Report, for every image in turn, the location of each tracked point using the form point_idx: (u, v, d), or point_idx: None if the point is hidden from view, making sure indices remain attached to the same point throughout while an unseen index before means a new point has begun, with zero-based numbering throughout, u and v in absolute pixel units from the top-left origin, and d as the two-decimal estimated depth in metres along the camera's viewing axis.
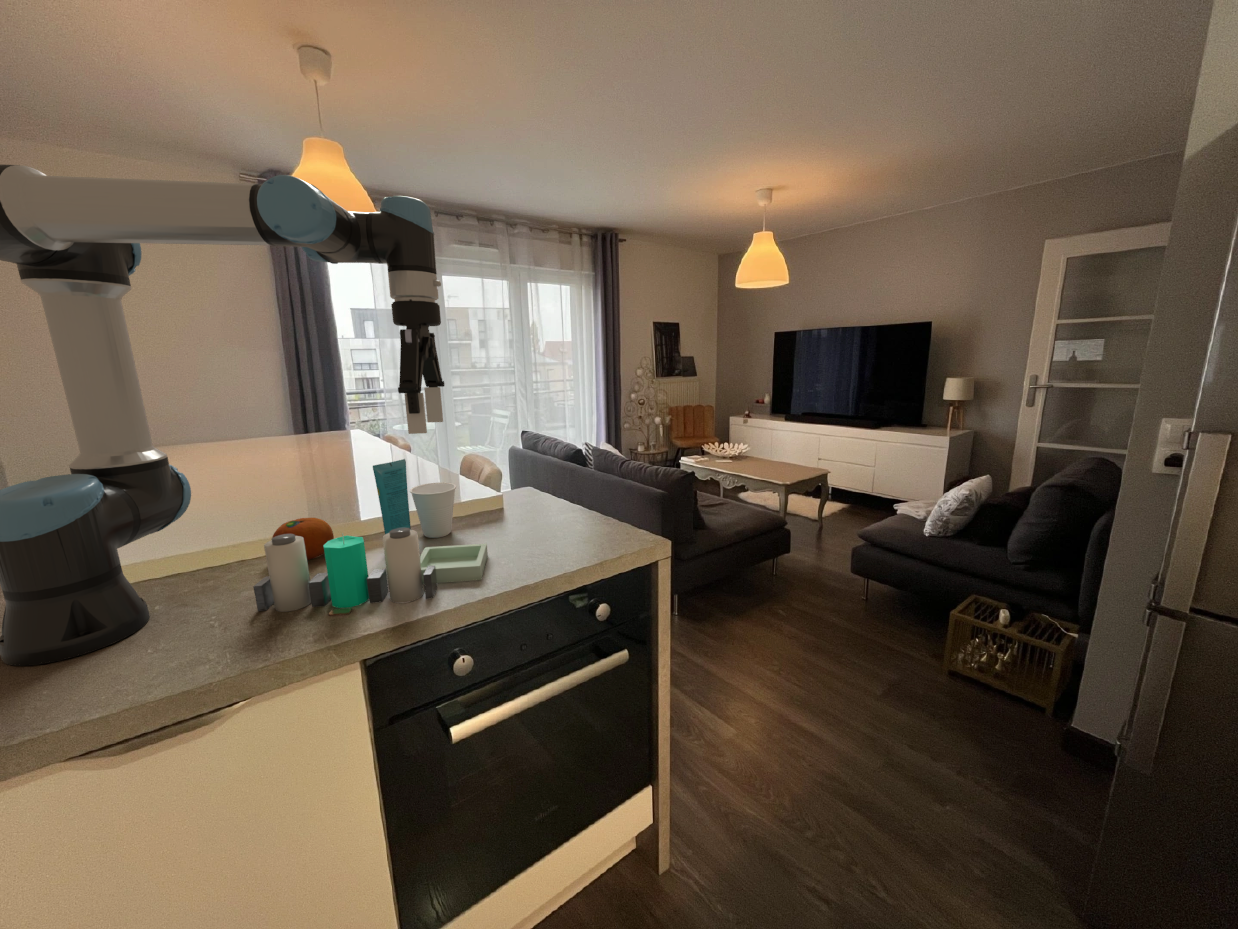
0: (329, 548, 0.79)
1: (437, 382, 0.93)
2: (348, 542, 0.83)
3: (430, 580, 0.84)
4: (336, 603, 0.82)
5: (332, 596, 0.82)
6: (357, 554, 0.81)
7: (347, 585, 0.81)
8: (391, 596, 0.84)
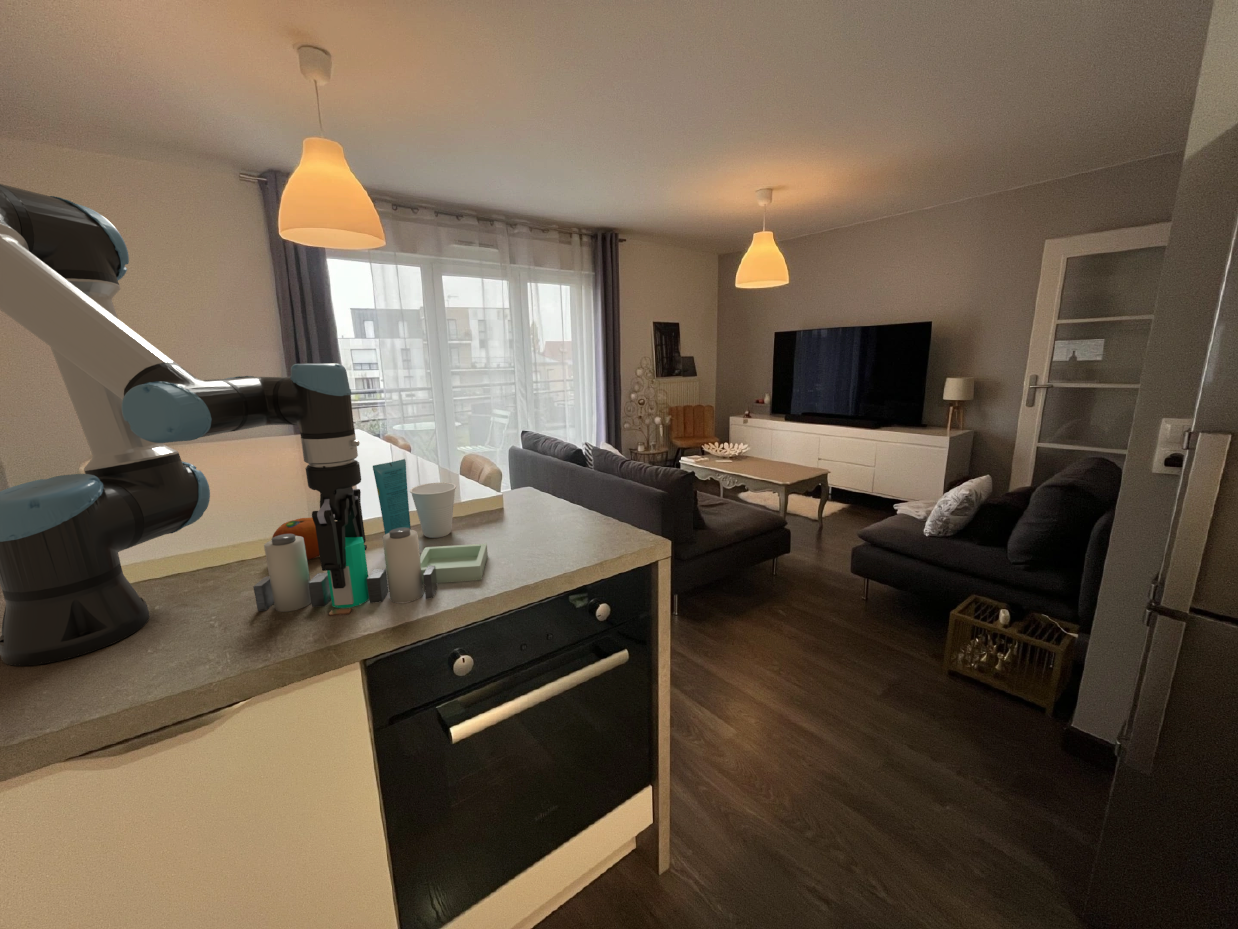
0: None
1: None
2: (348, 542, 0.83)
3: (430, 580, 0.84)
4: None
5: (332, 596, 0.82)
6: (356, 554, 0.81)
7: None
8: (391, 596, 0.84)
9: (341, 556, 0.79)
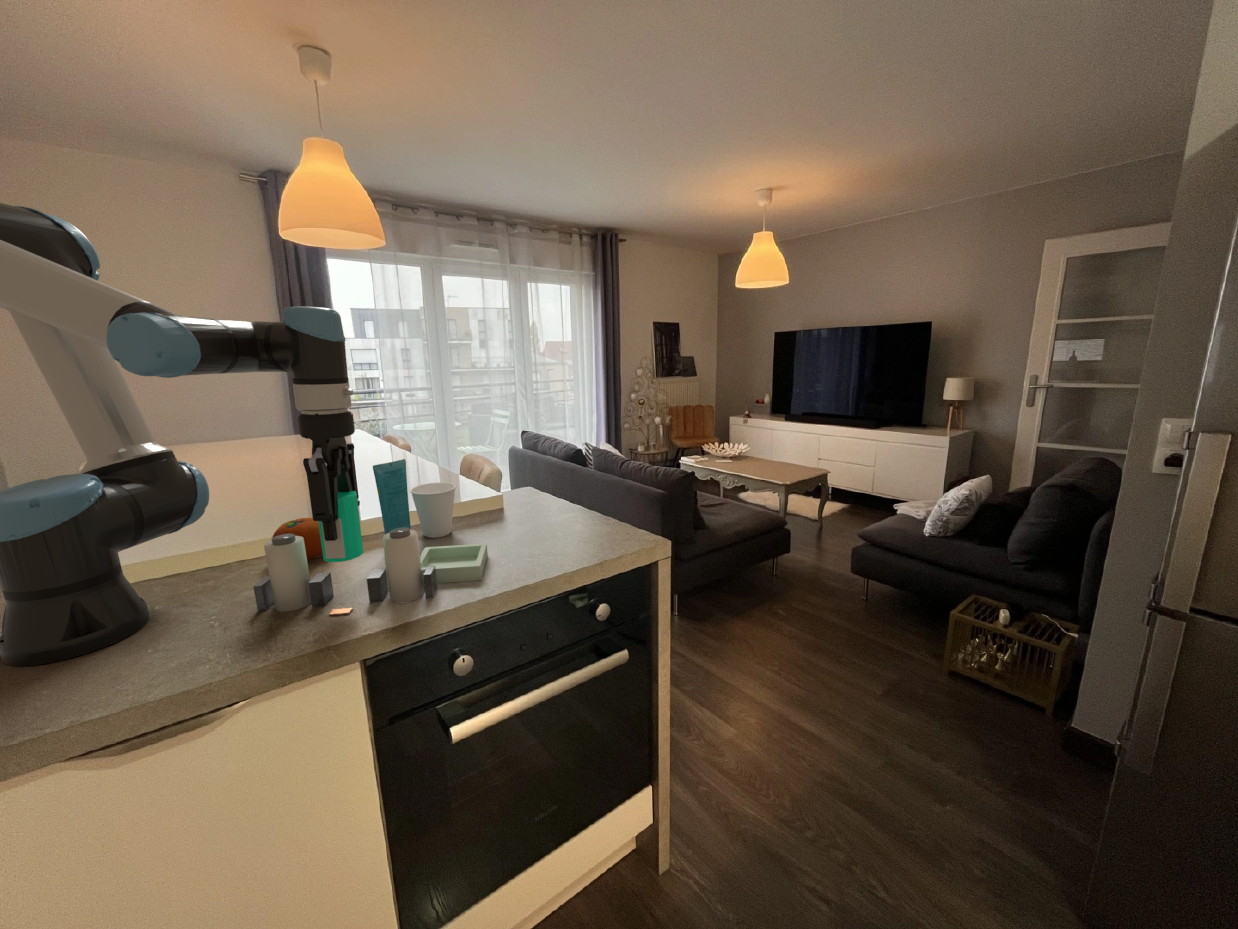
0: None
1: None
2: (340, 496, 0.81)
3: (430, 580, 0.84)
4: None
5: (323, 550, 0.80)
6: (349, 507, 0.80)
7: None
8: (391, 596, 0.84)
9: (333, 507, 0.77)
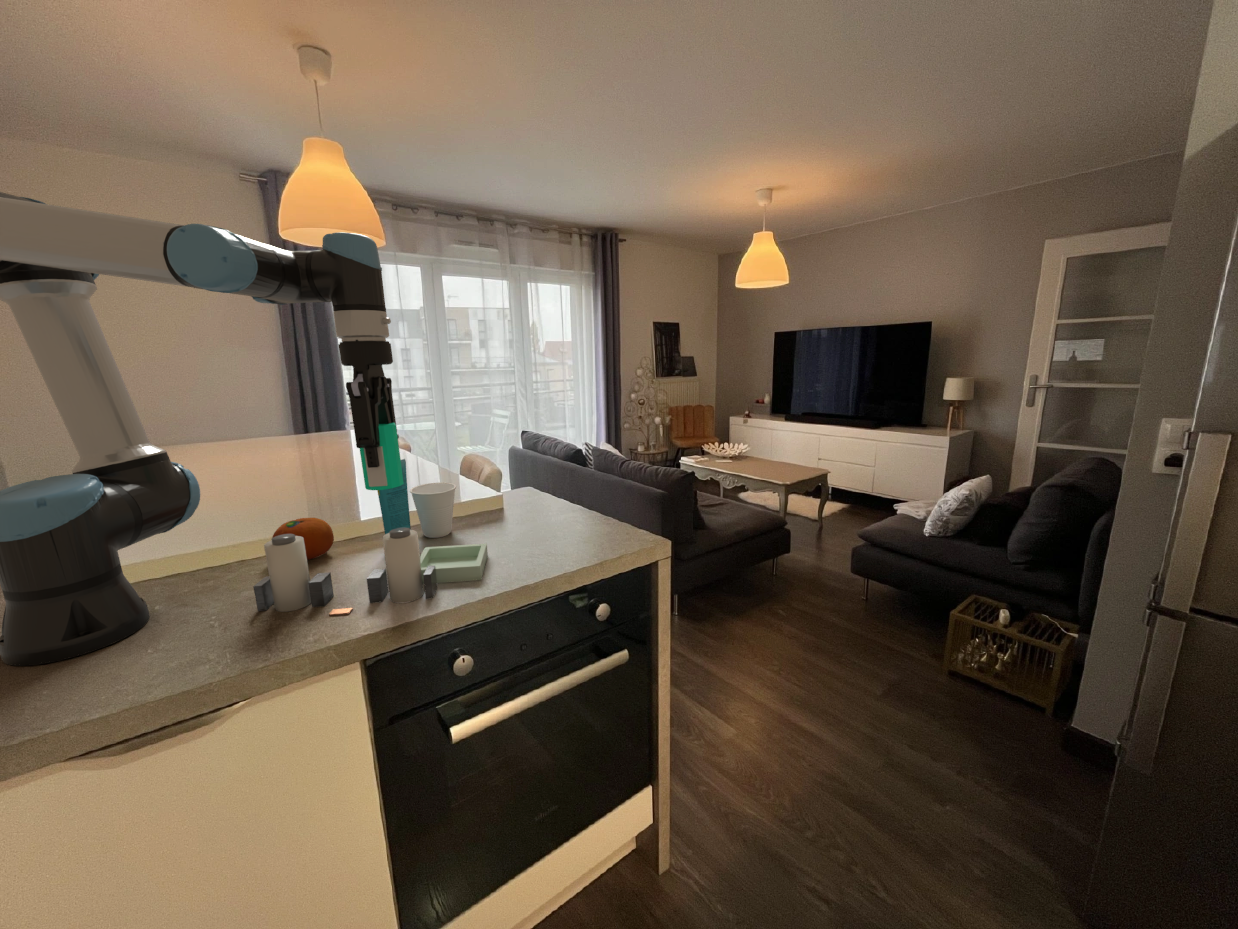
0: None
1: None
2: None
3: (430, 580, 0.84)
4: None
5: (366, 478, 0.82)
6: (389, 435, 0.81)
7: None
8: (391, 596, 0.84)
9: (375, 434, 0.79)
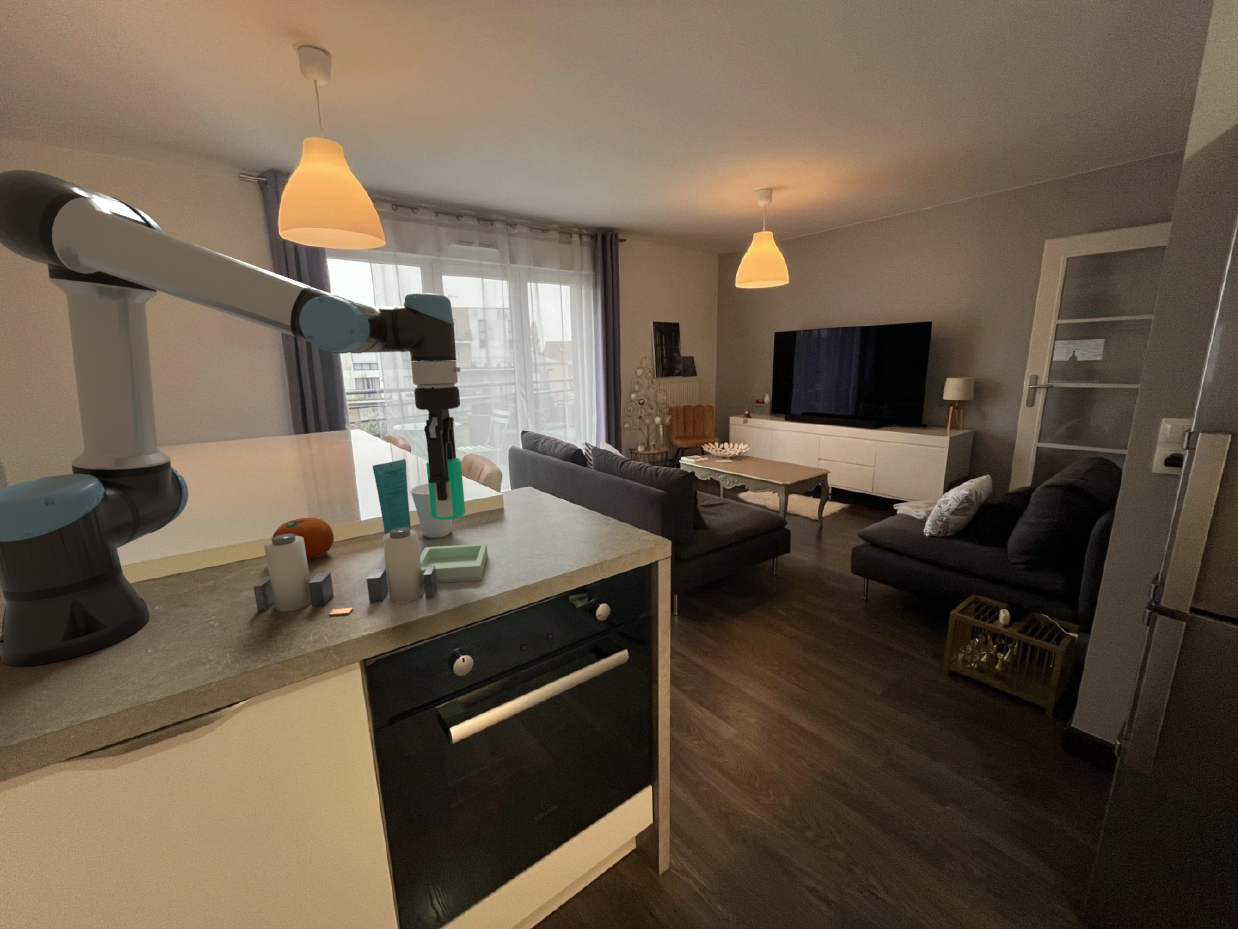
0: None
1: None
2: None
3: (430, 580, 0.84)
4: None
5: (434, 509, 0.91)
6: (456, 471, 0.90)
7: None
8: (391, 596, 0.84)
9: (445, 470, 0.88)
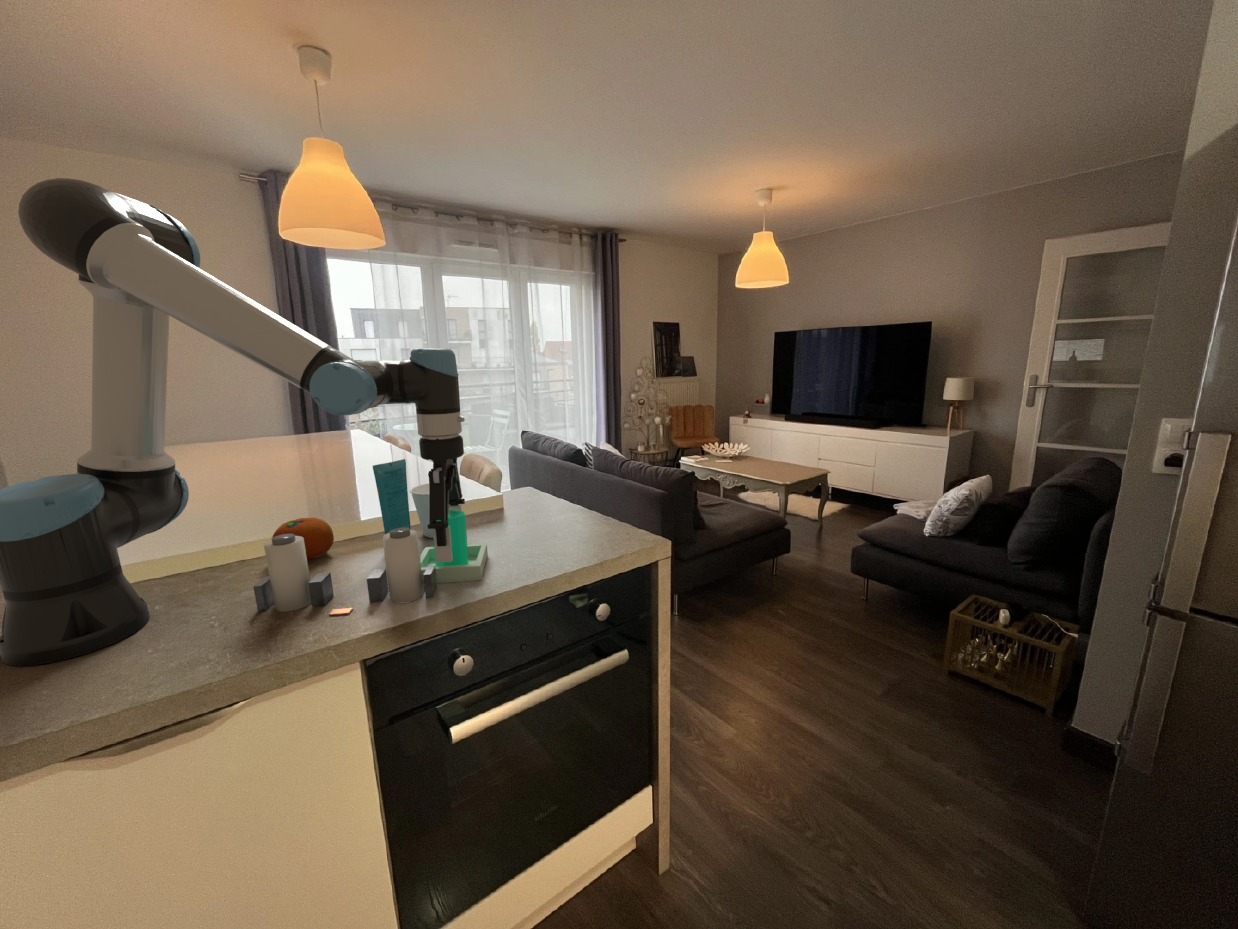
0: None
1: (458, 501, 0.99)
2: (451, 515, 0.94)
3: (430, 580, 0.84)
4: None
5: (438, 562, 0.93)
6: (461, 525, 0.93)
7: (452, 552, 0.92)
8: (391, 596, 0.84)
9: (445, 515, 0.87)
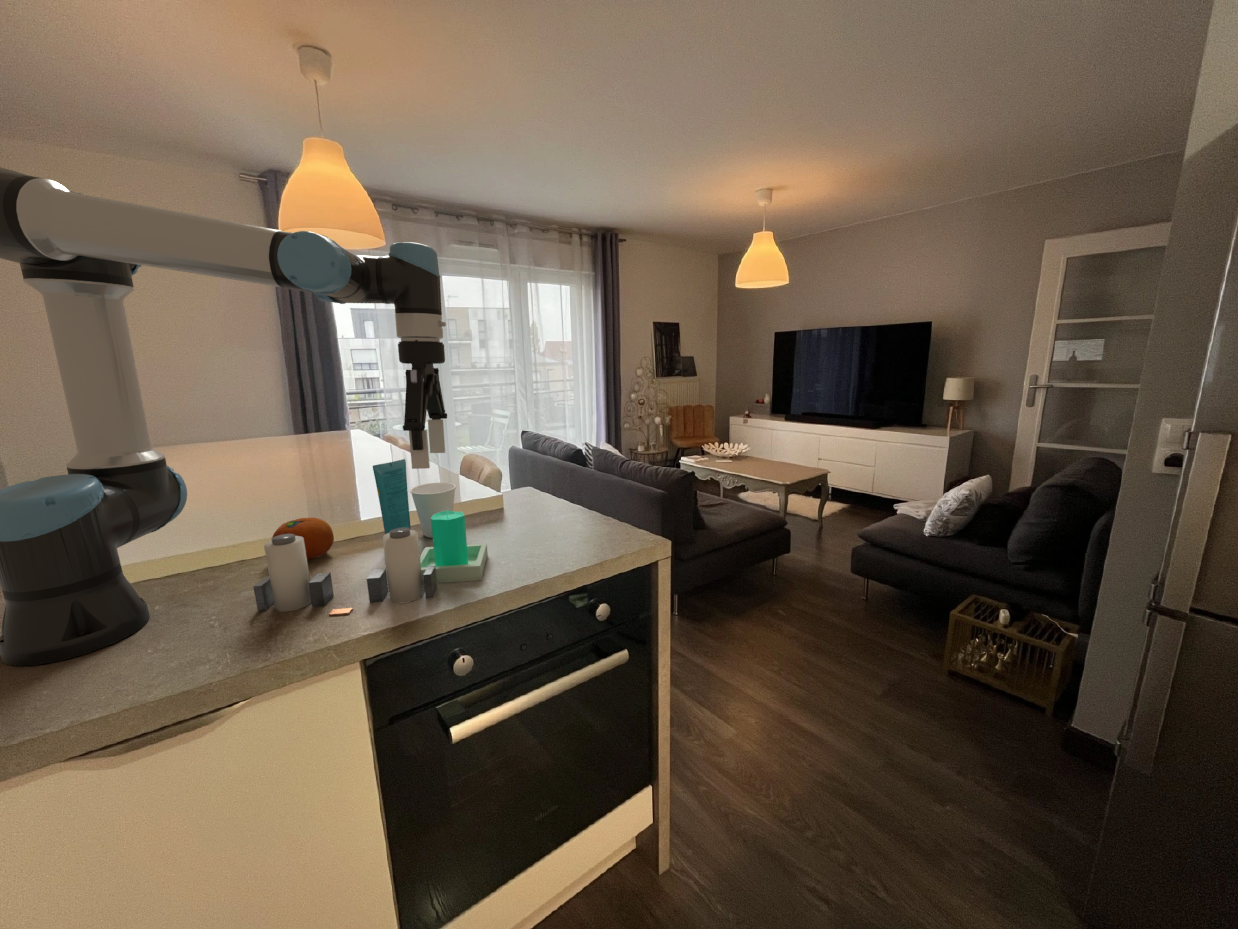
0: (438, 520, 0.91)
1: (440, 415, 0.96)
2: (450, 516, 0.94)
3: (430, 580, 0.84)
4: None
5: (438, 563, 0.93)
6: (460, 526, 0.93)
7: (452, 553, 0.92)
8: (391, 596, 0.84)
9: (422, 417, 0.82)
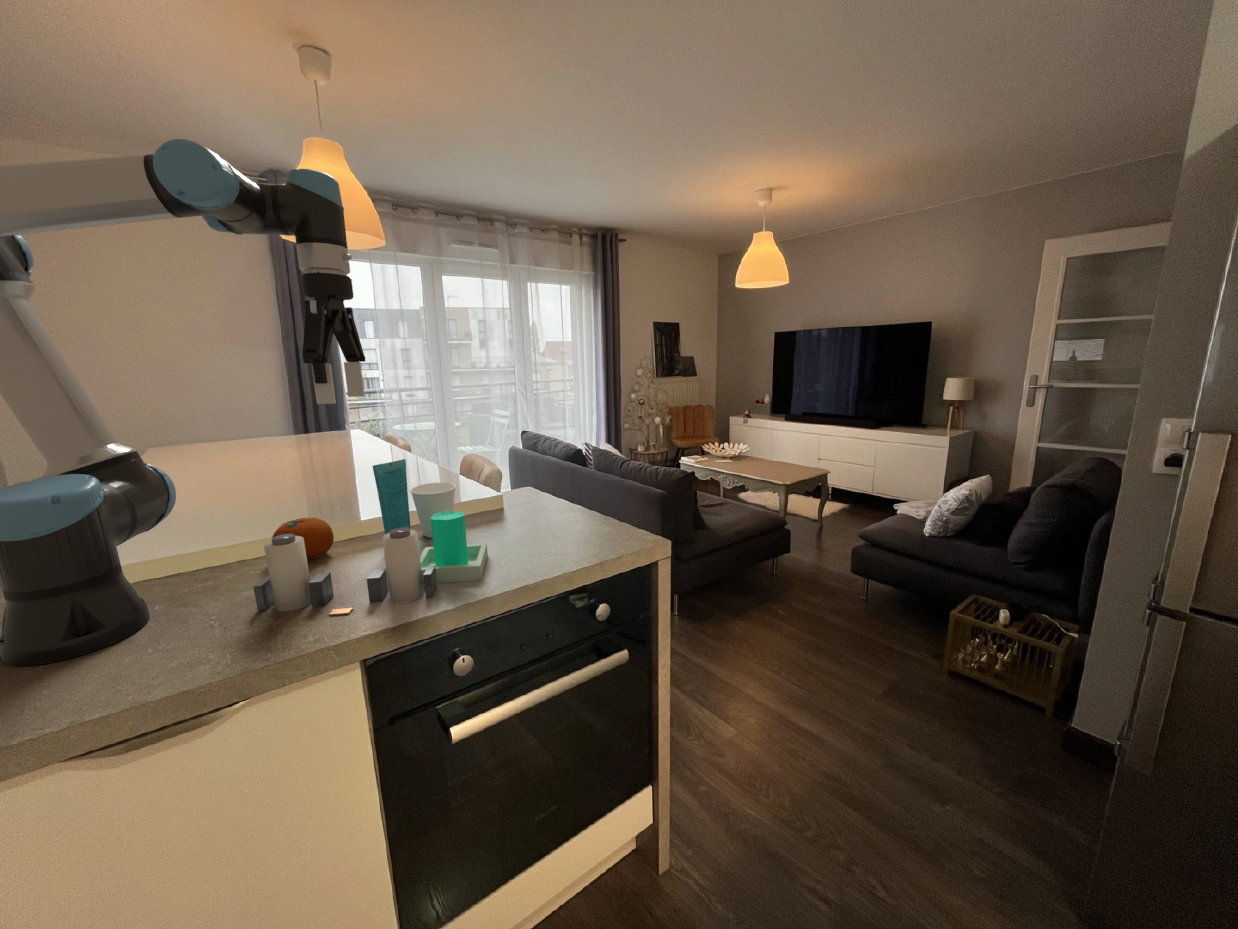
0: (438, 520, 0.91)
1: (357, 357, 0.94)
2: (450, 516, 0.94)
3: (430, 580, 0.84)
4: None
5: (438, 563, 0.93)
6: (460, 526, 0.93)
7: (452, 553, 0.92)
8: (391, 596, 0.84)
9: (324, 349, 0.80)
